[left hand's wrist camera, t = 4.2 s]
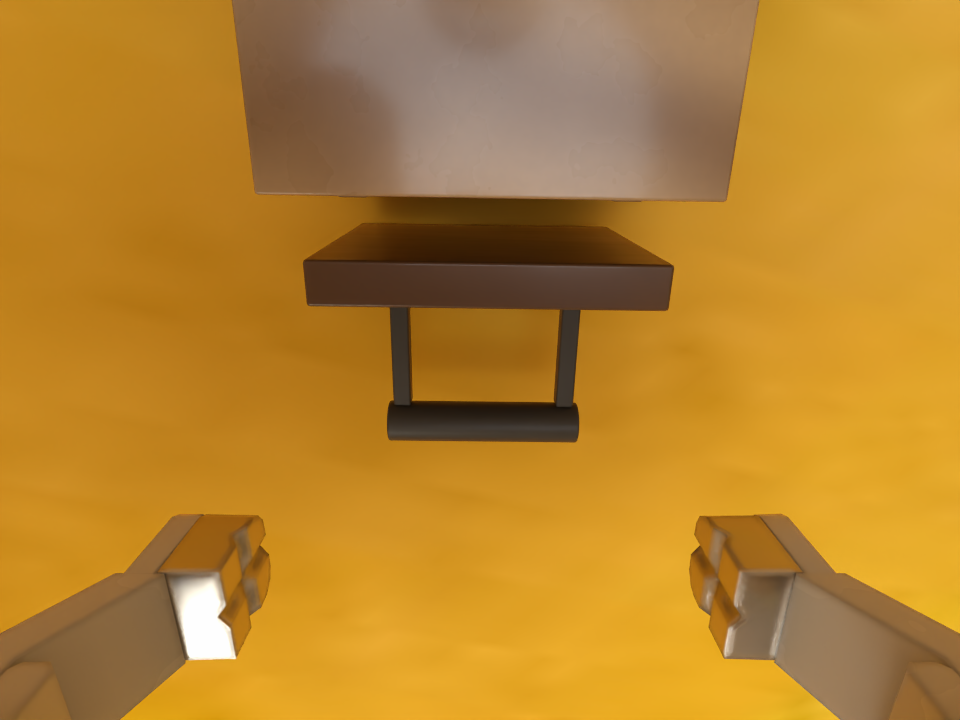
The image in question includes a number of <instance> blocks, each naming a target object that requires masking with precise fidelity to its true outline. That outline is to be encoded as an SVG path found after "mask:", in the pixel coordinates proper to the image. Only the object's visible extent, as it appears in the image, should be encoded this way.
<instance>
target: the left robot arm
mask: <svg viewBox="0 0 960 720" xmlns="http://www.w3.org/2000/svg"><path fill="white" fill-rule="evenodd" d="M265 535H266V534H265V529H264V524H263V519H261V518H260V517H259V516H258V515H214V514H206V515H203V514H179V515H176V516H173V517H172V518H171V519H170V520H169V521H168V522H167V524H166V525H165V526H164V527H163V528H162V529H161V531H160V532H159V533H158V534H157V535H156V536H155V538H154V539H153V540H152V541H151V542H150V543H149V545H148V546H147V547H146V548H145V549H144V550H143V552H142V553H141V554H140V555H139V556H138V557H137V559H136V560H135V561H134V562H133V563H132V564H131V566H130V567H129V568H128V569H127V570H126V571H125V573H115V574H113V575H111V576H109V577H107V578H105V579H103V580H102V581H100V582H98V583H96V584H94V585H92V586H90V587H88V588H86V589H84V590H82V591H81V592H79V593H77V594H75V595H73V596H71V597H69V598H67V599H65V600H63V601H61V602H60V603H58V604H56V605H54V606H52V607H50V608H48V609H46V610H44V611H42V612H40V613H39V614H37V615H35V616H33V617H31V618H29V619H27V620H25V621H23V622H21V623H19V624H18V625H16V626H14V627H12V628H10V629H8V630H6V631H4V632H2V633H0V720H120V719H121V718H122V717H123V716H125V715H126V714H127V713H128V712H129V711H130V710H132V709H133V708H134V707H135V706H136V705H137V704H138V703H140V702H141V701H142V700H143V699H144V698H145V697H147V696H148V695H149V694H150V693H151V692H152V691H154V690H155V689H156V688H157V687H158V686H159V685H160V684H162V683H163V682H164V681H165V680H166V679H167V678H169V677H170V676H171V675H172V674H173V673H174V672H176V671H177V670H178V669H179V668H180V667H181V666H182V665H184V664H185V660H204V659H236V657H237V655H238V653H239V651H240V649H241V647H242V645H243V643H244V641H245V639H246V637H247V635H248V633H249V631H250V629H251V622H250V615H251V614H253V613H254V612H255V611H257V610H258V609H259V608H261V606H262V604H263V602H264V600H265V597H266V595H267V591H268V587H269V582H270V559H269V554H268V553H267V552H266V551H265V550H264V549H263V548H262V547H261V546H260V544H261V542H262V540H263V538H264V537H265ZM694 535H695V537H696V538H697V540H698V542H699V544H700V546H699V547H698V548H697V549H696V550H695V551H694V552H693V553H692V554H691V560H690V568H689V572H690V583H691V588H692V591H693V595H694V597H695V600H696V602H697V604H698V606H699V608H701V609H702V610H703V611H705V612H706V613H707V614H709V615H710V622H709V629H710V631H711V633H712V635H713V637H714V639H715V641H716V643H717V645H718V647H719V649H720V651H721V653H722V655H723V657H724V659H755V660H775V662H774V663H776V664H777V665H778V666H779V667H780V668H781V669H782V670H784V671H785V672H786V673H787V674H788V675H789V676H791V677H792V678H793V679H794V680H795V681H796V682H797V683H799V684H800V685H801V686H802V687H803V688H804V689H806V690H807V691H808V692H809V693H810V694H811V695H812V696H814V697H815V698H816V699H817V700H818V701H819V702H821V703H822V704H823V705H824V706H825V707H826V708H827V709H829V710H830V711H831V712H832V713H833V714H834V715H836V716H837V717H838V718H839V719H840V720H960V634H959V633H957V632H955V631H954V630H952V629H950V628H948V627H946V626H944V625H942V624H940V623H938V622H936V621H935V620H933V619H931V618H929V617H927V616H925V615H923V614H921V613H919V612H917V611H916V610H914V609H912V608H910V607H908V606H906V605H904V604H902V603H900V602H898V601H896V600H895V599H893V598H891V597H889V596H887V595H885V594H883V593H881V592H879V591H877V590H876V589H874V588H872V587H870V586H868V585H866V584H864V583H862V582H860V581H858V580H857V579H855V578H853V577H851V576H849V575H847V574H845V573H835V571H834V570H833V569H832V568H831V567H830V566H829V564H828V563H827V562H826V561H825V560H824V559H823V557H822V556H821V555H820V554H819V553H818V552H817V550H816V549H815V548H814V547H813V546H812V545H811V543H810V542H809V541H808V540H807V539H806V538H805V536H804V535H803V534H802V533H801V532H800V531H799V529H798V528H797V527H796V526H795V525H794V524H793V522H792V521H791V520H790V519H789V518H788V517H787V516H785V515H783V514H761V515H754V516H700V517H699V519H698V521H697V523H696V528H695V533H694Z"/></svg>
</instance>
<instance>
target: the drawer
mask: <svg viewBox="0 0 960 720" xmlns="http://www.w3.org/2000/svg"><path fill="white" fill-rule="evenodd" d="M339 197H368V196H339ZM612 201H629V202H641V201H633V200H612ZM303 268H304V278H305V289H306V299H307V304H308V305H309V306H334V307H390V324H391V347H392V371H393V395H394V401H390V403H389V406H388V414H387V433H388V438H389V440H406V441H499V442H576V441H577V438H578V434H579V413H578V407H577V405H576V403H573V396H574V383H575V371H576V359H577V346H578V334H579V322H580V310H630V311H666V310H668V308H669V301H670V294H671V286H672V279H673V272H674V266H673V265H671V264H670V263H668V262H666V261H664V260H663V259H661V258H659V257H658V256H656V255H654V254H652V253H651V252H649V251H647V250H645V249H644V248H642V247H640V246H638V245H637V244H635V243H633V242H631V241H630V240H628V239H626V238H624V237H623V236H621V235H619V234H617V233H616V232H614V231H612V230H610V229H609V228H607V227H577V226H511V225H445V224H379V223H363V224H361V225H359V226H358V227H356V228H355V229H353V230H351V231H350V232H348V233H347V234H345V235H343V236H342V237H340V238H339V239H337V240H335V241H334V242H332V243H331V244H329V245H327V246H326V247H324V248H323V249H321V250H319V251H318V252H316V253H315V254H313V255H311V256H310V257H308V258H307V259H305V260H304V261H303ZM410 308H482V309H556V310H560V315H559V330H558V345H557V360H556V374H555V389H554V402H469V401H412V398H413V395H412V360H411V326H410Z"/></svg>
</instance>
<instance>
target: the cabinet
mask: <svg viewBox="0 0 960 720" xmlns="http://www.w3.org/2000/svg"><path fill="white" fill-rule="evenodd" d="M232 5H233V13H234V22H235V30H236V38H237V47H238V55H239V63H240V72H241V80H242V88H243V97H244V105H245V114H246V122H247V130H248V139H249V147H250V155H251V164H252V172H253V180H254V189H255V193H256V194H258V195H316V196H379V197H443V198H506V199H570V200H633V201H697V202H724V201H726V200H727V194H728V188H729V182H730V176H731V170H732V164H733V158H734V152H735V145H736V139H737V133H738V127H739V121H740V115H741V109H742V103H743V97H744V90H745V84H746V78H747V72H748V66H749V60H750V54H751V48H752V41H753V35H754V29H755V23H756V17H757V11H758V5H759V0H232Z"/></svg>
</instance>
